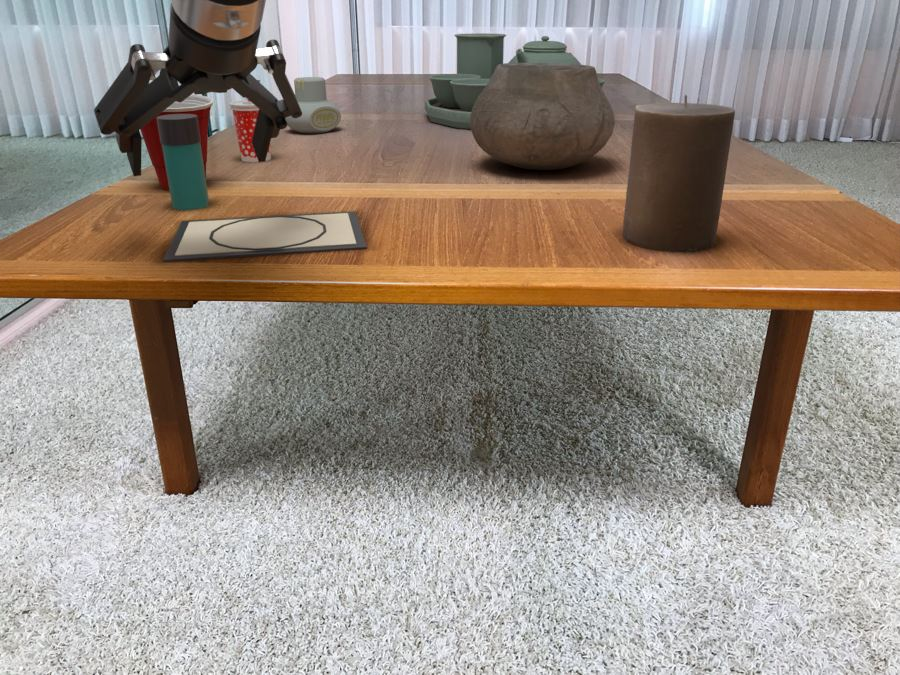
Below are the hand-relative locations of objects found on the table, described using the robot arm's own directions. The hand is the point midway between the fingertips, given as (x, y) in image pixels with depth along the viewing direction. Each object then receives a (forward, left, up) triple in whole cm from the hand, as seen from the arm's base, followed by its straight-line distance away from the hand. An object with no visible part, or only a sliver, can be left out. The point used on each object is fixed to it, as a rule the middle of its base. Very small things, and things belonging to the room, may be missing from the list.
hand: (198, 158), depth 80 cm
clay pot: (+47, +21, -8) cm, 52 cm away
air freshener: (+14, +62, -8) cm, 64 cm away
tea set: (+58, +70, -8) cm, 92 cm away
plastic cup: (-5, +19, -8) cm, 22 cm away
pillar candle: (+49, -17, -8) cm, 52 cm away
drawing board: (+7, -7, -8) cm, 12 cm away
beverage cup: (+4, +36, -8) cm, 37 cm away
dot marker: (-3, +8, -8) cm, 12 cm away
